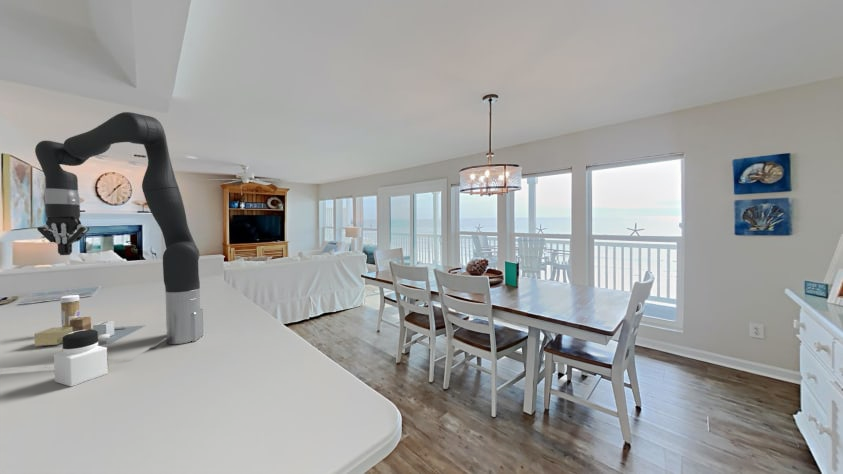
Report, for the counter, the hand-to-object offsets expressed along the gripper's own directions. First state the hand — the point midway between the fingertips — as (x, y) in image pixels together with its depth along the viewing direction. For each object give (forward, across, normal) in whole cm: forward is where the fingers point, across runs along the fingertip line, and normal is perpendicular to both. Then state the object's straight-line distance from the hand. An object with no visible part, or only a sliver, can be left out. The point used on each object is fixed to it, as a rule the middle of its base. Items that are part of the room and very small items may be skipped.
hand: (65, 254), depth 103 cm
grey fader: (+28, -13, +5) cm, 31 cm away
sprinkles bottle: (+29, +5, -8) cm, 31 cm away
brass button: (+27, -2, +8) cm, 28 cm away
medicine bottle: (+29, -26, +33) cm, 51 cm away
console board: (+29, -9, +3) cm, 31 cm away
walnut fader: (+28, -1, -3) cm, 28 cm away
